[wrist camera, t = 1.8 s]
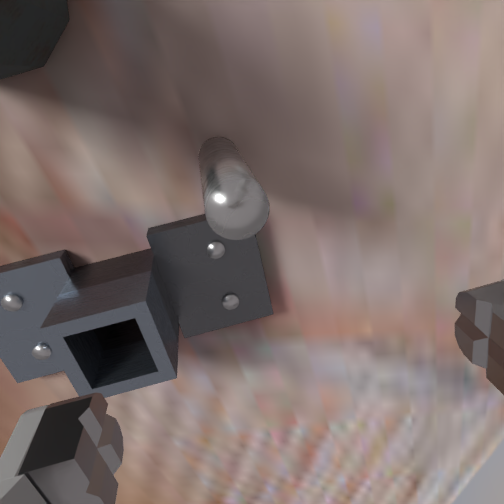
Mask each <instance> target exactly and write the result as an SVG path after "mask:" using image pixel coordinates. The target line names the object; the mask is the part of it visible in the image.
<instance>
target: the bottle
mask: <svg viewBox="0 0 504 504" xmlns="http://www.w3.org/2000/svg"><path fill="white" fill-rule="evenodd" d="M68 21H69V14H68V6H67V0H0V79H3V78H7V77H10V76H13V75H17V74H20V73H23V72H26V71H30V70H33V69H36V68H40V67H43V66H44V65H45V63H46V61H47V59H48V58H49V56H50V54H51V52H52V50H53V49H54V47H55V45H56V43H57V41H58V39H59V38H60V36H61V34H62V32H63V30H64V29H65V27H66V25H67V23H68Z"/></svg>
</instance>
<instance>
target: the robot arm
mask: <svg viewBox="0 0 504 504" xmlns="http://www.w3.org/2000/svg"><path fill="white" fill-rule="evenodd" d="M455 308H456V309H457V310H458V311H459V312H460V313H461V315H460V316H459V318H458V319H457V321H456V322H455V337H456V340H457V343H458V346H459V348H460V349H461V351H462V352H463V354H464V355H465V356H466V357H467V358H468V359H469V361H470V362H471V363H473V364H475V365H478V366H481V367H483V368H486V378H487V379H488V380H489V381H490V382H491V383H492V384H493V385H494V386H495V387H496V388H497V389H498V390H499V391H500V392H501V393H502V394H503V395H504V279H503V280H501V281H498V282H494V283H491V284H487V285H483V286H480V287H476V288H473V289H469V290H466V291H462V292H459V293H458V295H457V297H456V305H455ZM107 406H108V403H107V402H106V400H105V398H104V397H103V395H102V393H97V392H96V393H92V394H88V395H84V396H80V397H76V398H72V399H68V400H64V401H60V402H56V403H52V404H50V405H46V406H42V407H38V408H34V409H30V410H27V411H26V412H25V413H23V414H22V415H21V417H20V419H19V421H18V423H17V425H16V427H15V429H14V431H13V433H12V435H11V437H10V439H9V441H8V443H7V445H6V447H5V449H4V451H3V454H2V456H1V458H0V504H115V501H116V495H117V489H118V482H117V481H116V479H115V477H114V476H113V475H114V473H115V472H116V471H117V469H118V468H119V467H120V465H121V464H122V458H123V451H124V449H123V436H122V432H121V429H120V426H119V424H118V422H117V420H116V418H114V417H112V416H110V415H108V414H106V411H107Z"/></svg>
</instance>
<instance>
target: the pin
mask: <svg viewBox="0 0 504 504" xmlns="http://www.w3.org/2000/svg"><path fill="white" fill-rule="evenodd" d="M198 160H199V168H200V175H201V183H202V191H203V199H204V207H205V215H206V219H207V222H208V224H209V226H210V227H211V228H212V230H213V231H214V232H216V233H217V234H218V235H220V236H221V237H224V238H227V239H231V240H242V239H246V238H249V237H251V236H253V235H255V234H256V233H257V232H259V231H260V230H261V229H262V227H263V226H264V225H265V223H266V221H267V219H268V215H269V201H268V198H267V195H266V194H265V192H264V190H263V189H262V187H261V186H260V184H259V183H258V181H257V179H256V178H255V176H254V175H253V173H252V172H251V170H250V168H249V167H248V165H247V164H246V162H245V161H244V159H243V158H242V156H241V154H240V153H239V151H238V150H237V148H236V147H235V145H234V144H233V143H232V142H231V141H230V140H228V139H226V138H223V137H214V138H211V139H209V140H207V141H206V142H205V143H204V144H203V145H202V146H201V148H200V151H199V155H198Z"/></svg>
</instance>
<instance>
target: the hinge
mask: <svg viewBox="0 0 504 504" xmlns="http://www.w3.org/2000/svg"><path fill="white" fill-rule="evenodd" d="M147 238H148V241H149V244H150V246H151V249H147V250H143V251H139V252H135V253H131V254H127V255H123V256H120V257H116V258H112V259H108V260H104V261H100V262H96V263H92V264H89V265H85V266H81V267H77V268H74V266H73V264H72V262H71V260H70V258H69V256H68V254H67V252H66V250H62V251H58V252H54V253H50V254H46V255H42V256H38V257H34V258H30V259H26V260H22V261H18V262H14V263H11V264H7V265H3V266H0V358H1V359H2V361H3V362H4V364H5V365H6V367H7V368H8V370H9V371H10V373H11V374H12V376H13V377H14V379H15V380H16V382H17V383H20V382H23V381H27V380H31V379H35V378H38V377H42V376H46V375H49V374H53V373H57V372H61V371H65V373H66V375H67V376H68V378H69V380H70V382H71V383H72V385H73V387H74V388H75V390H76V392H77V393H78V395H79V397H80V396H84V395H88V394H92V393H96V392H97V393H102V395H103V397H104V398H106V397H109V396H113V395H117V394H120V393H124V392H128V391H131V390H135V389H139V388H142V387H146V386H150V385H153V384H157V383H161V382H164V381H168V380H171V379H175V378H177V365H178V335H179V324H180V327H181V330H182V332H183V335H184V338H187V337H191V336H194V335H198V334H202V333H205V332H209V331H213V330H217V329H220V328H224V327H228V326H231V325H235V324H239V323H243V322H246V321H250V320H254V319H257V318H261V317H265V316H269V315H272V314H273V310H272V305H271V301H270V297H269V292H268V288H267V283H266V279H265V275H264V270H263V266H262V261H261V257H260V253H259V248H258V244H257V239H256V235H253V236H251V237H249V238H246V239H242V240H231V239H227V238H224V237H221V236H220V235H218V234H217V233H216V232H214V231H213V230H212V228H211V227H210V226H209V224H208V222H207V219H206V215H205V214H203V215H199V216H195V217H191V218H187V219H183V220H179V221H175V222H171V223H167V224H164V225H160V226H156V227H152V228H148V232H147Z"/></svg>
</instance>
